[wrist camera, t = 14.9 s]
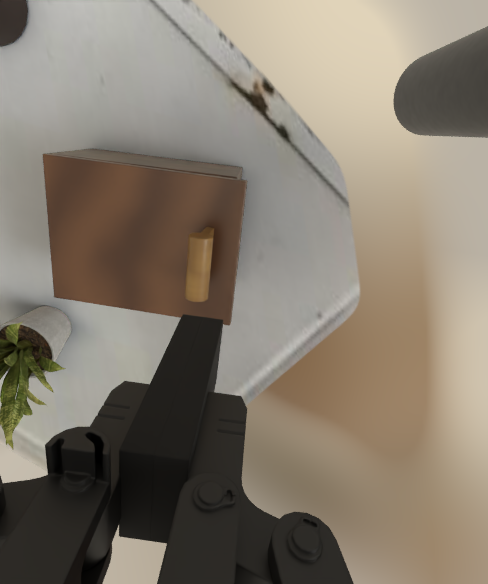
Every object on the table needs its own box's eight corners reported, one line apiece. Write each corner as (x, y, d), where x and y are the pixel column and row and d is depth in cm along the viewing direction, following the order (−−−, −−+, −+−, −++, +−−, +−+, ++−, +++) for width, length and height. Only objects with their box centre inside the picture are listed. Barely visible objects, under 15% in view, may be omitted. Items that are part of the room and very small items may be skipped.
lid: (247, 180, 31) (238, 188, 26) (231, 321, 35) (221, 350, 31) (48, 153, 32) (5, 156, 27) (58, 294, 37) (24, 317, 32)
